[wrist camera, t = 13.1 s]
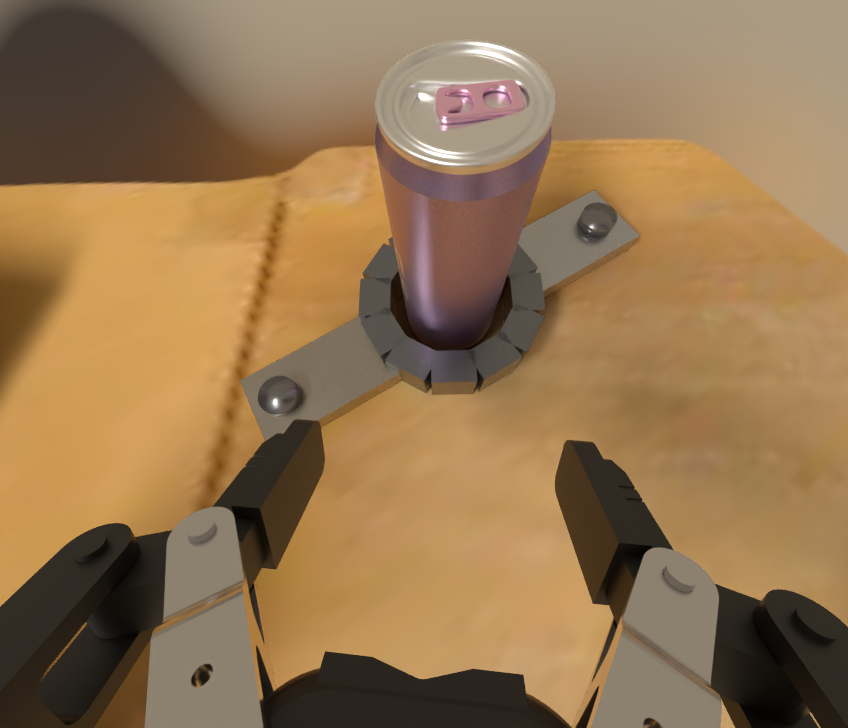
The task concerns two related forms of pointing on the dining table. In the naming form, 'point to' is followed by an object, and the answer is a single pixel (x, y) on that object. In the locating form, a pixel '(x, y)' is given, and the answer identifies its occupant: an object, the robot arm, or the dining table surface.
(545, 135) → the beverage can
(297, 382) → the pipe clamp bracket
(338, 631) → the dining table surface
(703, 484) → the dining table surface
